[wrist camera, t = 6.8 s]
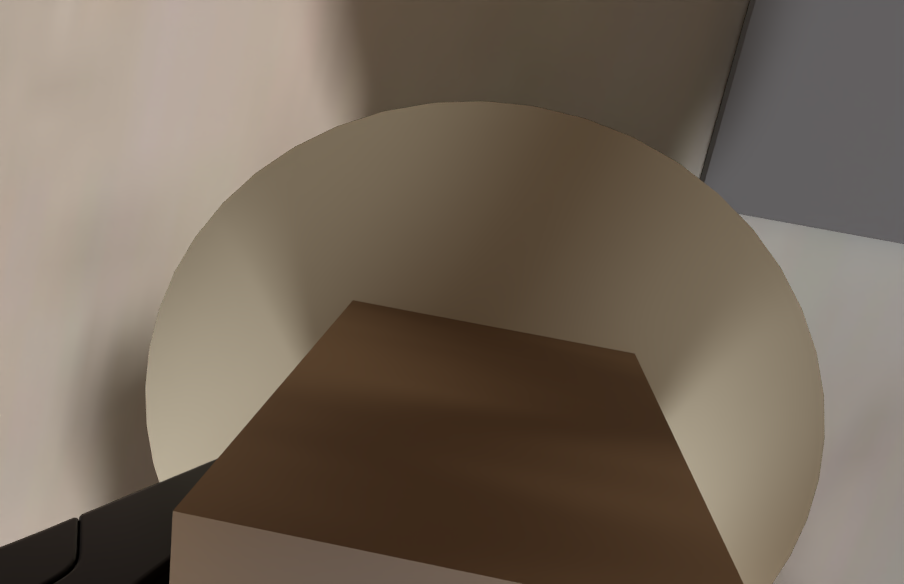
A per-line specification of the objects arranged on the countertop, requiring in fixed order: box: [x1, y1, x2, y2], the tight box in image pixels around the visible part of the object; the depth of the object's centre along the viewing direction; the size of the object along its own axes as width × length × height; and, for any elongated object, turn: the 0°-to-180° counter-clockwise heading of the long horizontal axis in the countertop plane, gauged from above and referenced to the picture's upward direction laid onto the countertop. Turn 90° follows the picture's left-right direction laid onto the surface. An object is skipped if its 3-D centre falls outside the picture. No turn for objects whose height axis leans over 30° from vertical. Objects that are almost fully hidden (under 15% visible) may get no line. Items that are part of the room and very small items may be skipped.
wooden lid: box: [145, 101, 825, 584], centre depth 8 cm, size 10×10×6 cm
